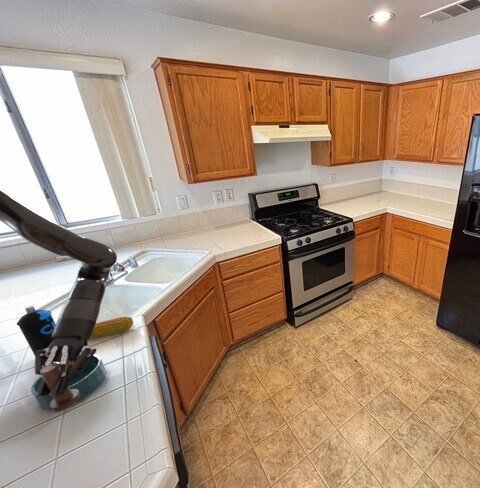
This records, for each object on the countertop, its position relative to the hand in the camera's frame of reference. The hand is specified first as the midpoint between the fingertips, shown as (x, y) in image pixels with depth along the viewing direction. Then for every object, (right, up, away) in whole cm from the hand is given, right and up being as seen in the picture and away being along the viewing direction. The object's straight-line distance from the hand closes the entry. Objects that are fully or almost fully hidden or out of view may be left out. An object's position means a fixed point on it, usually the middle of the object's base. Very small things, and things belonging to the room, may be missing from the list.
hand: (50, 394), depth 61 cm
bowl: (-12, -9, +18) cm, 24 cm away
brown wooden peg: (0, -4, +3) cm, 5 cm away
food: (-24, -1, +43) cm, 49 cm away
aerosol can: (-34, -5, +33) cm, 48 cm away
